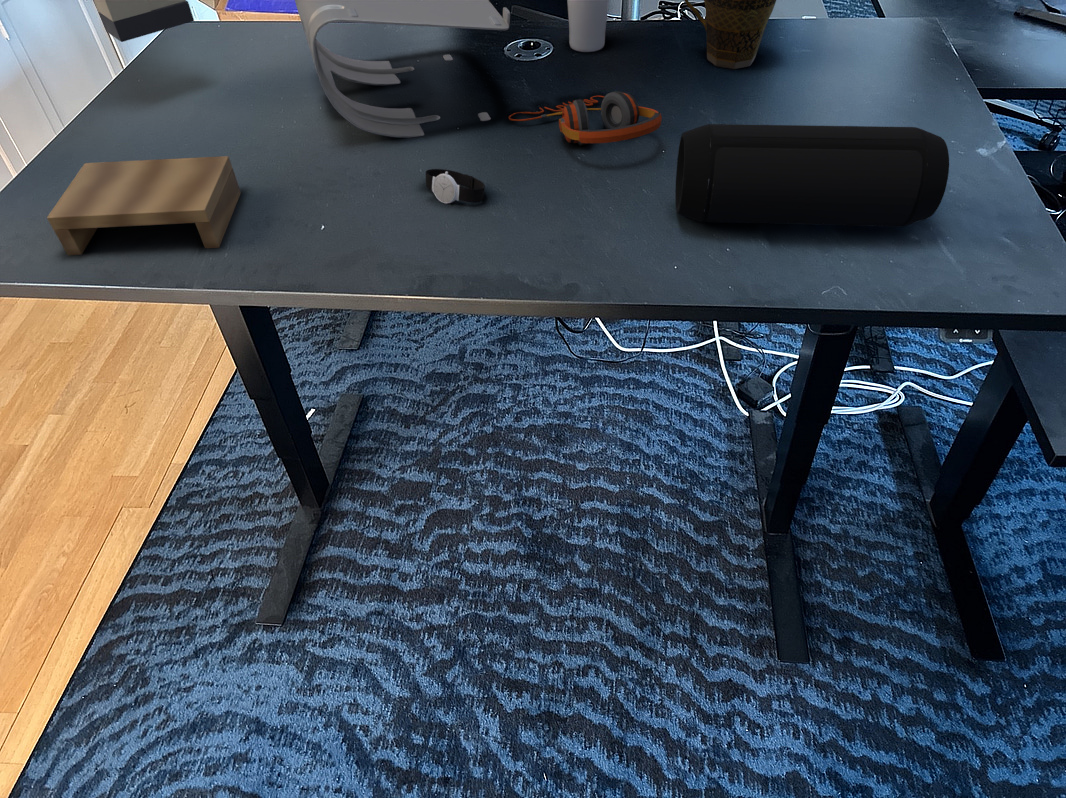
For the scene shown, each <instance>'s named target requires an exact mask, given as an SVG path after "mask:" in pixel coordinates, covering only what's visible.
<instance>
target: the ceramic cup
mask: <svg viewBox="0 0 1066 798" xmlns="http://www.w3.org/2000/svg"><path fill="white" fill-rule="evenodd" d="M703 2H704V7H705V8H704V9H705V19H704V18H703V17H702V16H701V13H699V11H698V10H697V9H696V7H694V5H692V3H690V1H689V0H684V3H685V4H686V6H687V7H688V8H689V9H690V10H691V11H692V13H694V14H695V16H696V17H697V19H698V20H699V22H700V23H701V24H702V25H703V28H704V30H705V32H706V33H705V34H706V35H705V37H706V59H707V61H709V62H710V63H711V64H713V65H714V66H715V67H719V68H723V69H729V70H737V69H738V70H739V69H742V68H747V67H751V65H752V64H753V62H754V61H755V59H756V56H757V53H758V51H759V48H760V45H761V42H762V39H763V36H764V34H765V30H766V28H767V24H768V22H769V20H770V17H771V15H772V14H773V11H774V8H775V5H776V2H777V0H703Z"/></svg>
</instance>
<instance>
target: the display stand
mask: <svg viewBox="0 0 1066 798" xmlns="http://www.w3.org/2000/svg"><path fill="white" fill-rule="evenodd" d="M241 193H242V191H241V189H240V185H239V183H238V180H237V177H236V173H235V171H234V168H233V165H232V162H231V159H230V156H229V155H222V156H203V157H200V156H199V157H183V158H180V157H179V158H164V159H161V158H159V159H141V160H121V161H102V162H101V161H98V162H97V161H96V162H84V163H83V165H82V167H81V168H80V169H79V170H78V172H77V173H76V175H75V177H74V178H73V179H72V181H71V182H70V184H69V185H68V187H67V188H66V189H65V190H64V192H63V193H62V194H61V197H60V198H59V199H58V201H57V202H56V204H55V205H54V206H53V208H52V209H51V211H50V212H49V214H48V215H47V217H46V219H47V221H48V224H50V226H51V228H52V230H53V232H54V234H55V235H56V237H57V239H58V241H59V242H60V245H61V247H62V248H63V249H64V251H65V254H66V255H67V256H79V255H80V256H81V255H82V254H83V253H84V251H85V250H86V248H87V247H88V245H89V243H90V242H91V240H92V238H93V236H94V235H95V233H96V232H97V230H98V229H99V228H117V227H118V228H121V227H137V226H138V227H139V226H140V227H141V226H158V225H159V226H160V225H161V226H162V225H179V224H195V226H196V229H197V231H198V234H199V236H200V239H201V242H202V244H203V246H204V249H218V248H220V246H221V244H222V241H223V239H224V237H225V234H226V232H227V230H228V226H229V224H230V221H231V219H232V216H233V214H234V212H235V209H236V206H237V204H238V201H239V199H240V196H241Z"/></svg>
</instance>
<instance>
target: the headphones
mask: <svg viewBox="0 0 1066 798" xmlns="http://www.w3.org/2000/svg"><path fill="white" fill-rule="evenodd" d="M597 97H598V98H602V101H601V103H600V104H601V105H600V107H599V108H598V107H597V108H595V107H594V108H593V107H592V106H593V105H594V104H598V103H599V100H597V99H594V98H597ZM587 107H589V108H587ZM591 107H592V108H591ZM543 108H544V109H546V110H548V111H551V112H552V113H549V114H546V113H545V110H544V109H543ZM543 108H542V107H539V110H540V111H517V112H514V113H512V114H510V115H509V116H508V120H509V121H512V122H529V121H534V120H538V119H539V120H540V119H541V120H542V119H546V118H548V117H553V116H560V115H561V118H559V119H558V127H559V132H560V133H562V134H563V135H564V138H565V140H566V141H567V142H568V143H569V144H578V146H580V147H581V146H587V145H588V144H609V143H616V142H622V141H627V140H632V139H636V138H639V137H642V136H645V135H649V134H651V133H653V132H655V131H657V130H658V129H659V128H660V127H661V125H662V119H663V118H662V112H659V111H658V110H656V109H653V108H650V107H646V106H639V105H638V102H637V100H636V98H635V97H634V96H633V95H632V94H630V93H628V92H622V91H620V90H614V91H611V92H609V93H607V94H606V95H594V96H591V97H590V98H589V99H586V98H584V99H581V98H579V99H575V100H572V102H571V101H567V103H565V102H562V104H558V105H555V108H556V109H553V108H550V107H547V106H543ZM588 111H600V116H601V120H602V123H603V125H604V127H605V129H603V128H602V129H590V119H589V113H588ZM543 113H545V114H543ZM516 114H525V115H538V114H541V115H540V116H536V117H530V118H523V119H521V118H520V119H519V118H518V119H515V118H511V117H513V116H514V115H516ZM640 117H644V118H646V119H645V120H643V121H640V122H639V120H640ZM647 118H648V119H647Z"/></svg>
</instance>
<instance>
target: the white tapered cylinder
mask: <svg viewBox="0 0 1066 798" xmlns="http://www.w3.org/2000/svg"><path fill="white" fill-rule="evenodd" d="M566 1H567V3H566V5H567V16H568V18H567V19H568V31H569V32H568V33H569V34H568V43H569V47H570V49H572V50H573V51H576V52H581V53H591V52H592V53H593V52H597V51H600V50H602V49H603V48H604V47H605V43H606V29H607V22H608V21H607V20H608V14H609V13H608V12H609V6H610V5H609V4H610V0H566Z"/></svg>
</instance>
